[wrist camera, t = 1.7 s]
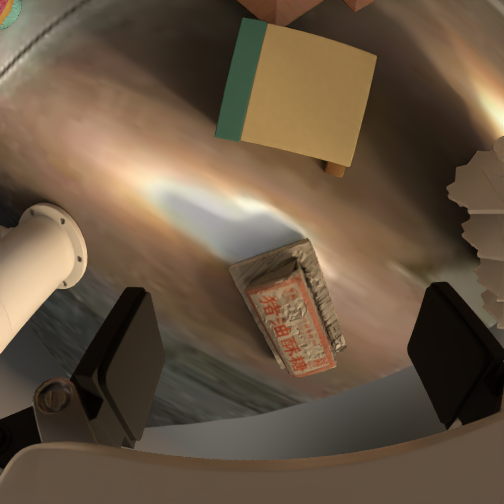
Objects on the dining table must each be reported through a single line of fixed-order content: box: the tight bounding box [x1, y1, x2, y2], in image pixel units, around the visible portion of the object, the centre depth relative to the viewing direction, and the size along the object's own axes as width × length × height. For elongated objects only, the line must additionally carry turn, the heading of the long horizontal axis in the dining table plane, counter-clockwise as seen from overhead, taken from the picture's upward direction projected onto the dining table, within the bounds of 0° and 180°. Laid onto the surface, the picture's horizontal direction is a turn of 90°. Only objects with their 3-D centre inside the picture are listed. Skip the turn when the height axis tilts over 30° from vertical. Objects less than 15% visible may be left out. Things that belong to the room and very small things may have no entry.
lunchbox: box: [215, 18, 377, 167], centre depth 24 cm, size 11×10×8 cm
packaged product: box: [229, 238, 346, 377], centre depth 36 cm, size 18×5×10 cm
